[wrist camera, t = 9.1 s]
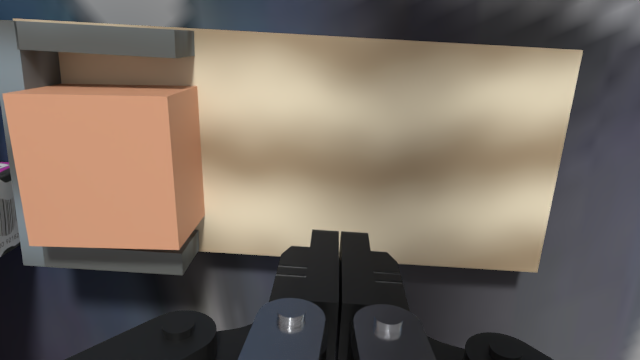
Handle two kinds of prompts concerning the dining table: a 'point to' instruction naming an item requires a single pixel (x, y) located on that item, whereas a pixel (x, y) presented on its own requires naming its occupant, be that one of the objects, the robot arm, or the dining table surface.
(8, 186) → the candy bar box
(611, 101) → the dining table surface
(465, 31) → the dining table surface
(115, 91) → the carton
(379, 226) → the board
